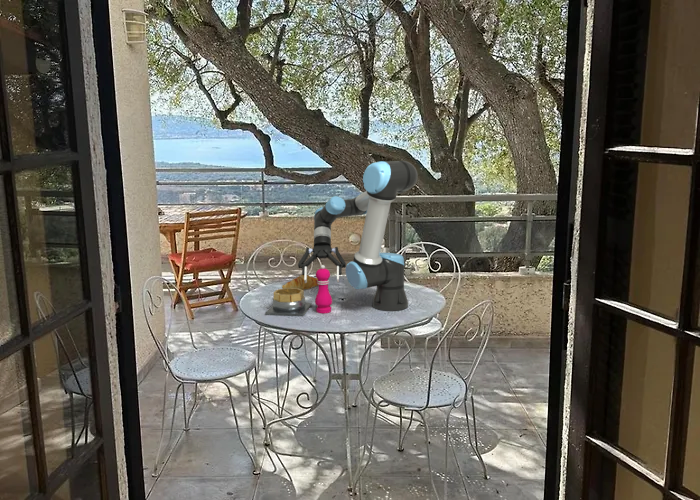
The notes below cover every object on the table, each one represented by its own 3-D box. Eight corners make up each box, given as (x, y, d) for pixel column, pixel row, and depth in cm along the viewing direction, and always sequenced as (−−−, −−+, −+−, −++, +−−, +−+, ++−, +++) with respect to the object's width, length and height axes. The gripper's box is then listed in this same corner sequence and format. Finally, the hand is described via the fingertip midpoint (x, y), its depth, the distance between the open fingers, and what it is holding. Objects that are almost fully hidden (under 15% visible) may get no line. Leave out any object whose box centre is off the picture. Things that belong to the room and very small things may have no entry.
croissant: (285, 299, 293) (287, 286, 289) (277, 285, 300) (279, 273, 295) (324, 291, 304) (327, 279, 299) (315, 279, 310) (318, 266, 306)
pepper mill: (330, 314, 256) (329, 267, 252) (313, 313, 257) (312, 266, 253) (334, 309, 263) (333, 263, 259) (317, 308, 264) (316, 262, 260)
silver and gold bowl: (311, 305, 269) (311, 287, 267) (303, 316, 253) (302, 297, 252) (276, 304, 271) (275, 286, 270) (265, 315, 256) (264, 295, 254)
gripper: (350, 243, 273) (351, 285, 262) (294, 244, 273) (292, 286, 262) (350, 234, 267) (351, 275, 255) (293, 235, 267) (291, 276, 255)
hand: (321, 281), depth 258 cm, fingers open, 13 cm apart
